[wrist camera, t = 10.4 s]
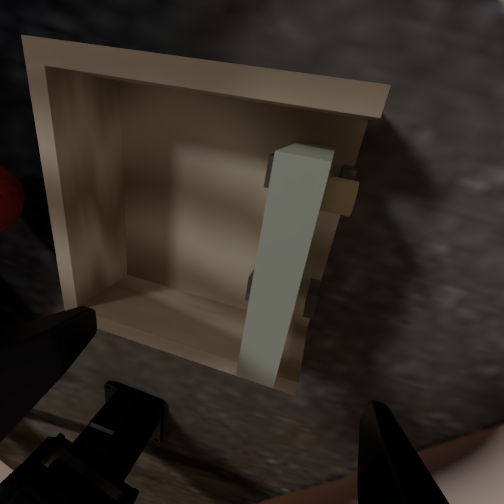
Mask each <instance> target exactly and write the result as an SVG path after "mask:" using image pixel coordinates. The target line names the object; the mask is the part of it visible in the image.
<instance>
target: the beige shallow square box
mask: <svg viewBox="0 0 504 504" xmlns="http://www.w3.org/2000/svg"><path fill="white" fill-rule="evenodd" d="M21 37H22V43H23V50H24V56H25V62H26V69H27V75H28V81H29V88H30V94H31V100H32V106H33V113H34V119H35V125H36V132H37V138H38V144H39V151H40V157H41V163H42V170H43V176H44V182H45V188H46V195H47V201H48V207H49V214H50V220H51V226H52V233H53V239H54V245H55V251H56V258H57V264H58V270H59V277H60V283H61V289H62V296H63V302H64V308H65V311H66V310H69V309H73V308H76V307H79V306H87V307H90V308H93V309H94V310H95V311H96V318H97V328H98V329H101V330H104V331H107V332H109V333H112V334H115V335H118V336H121V337H124V338H127V339H130V340H133V341H136V342H139V343H142V344H145V345H148V346H151V347H153V348H156V349H159V350H162V351H165V352H168V353H171V354H174V355H177V356H180V357H183V358H186V359H189V360H192V361H194V362H197V363H200V364H203V365H206V366H209V367H212V368H215V369H218V370H221V371H224V372H227V373H230V374H233V375H236V371H237V365H238V360H239V354H240V348H241V342H242V337H243V331H244V325H245V320H246V314H247V308H248V302H249V297H250V291H251V285H252V279H253V274H254V268H255V262H256V257H257V251H258V245H259V239H260V234H261V228H262V222H263V216H264V211H265V205H266V199H267V193H268V188H269V182H270V176H271V171H272V165H273V159H274V153H275V151H276V150H278V149H281V148H284V147H287V146H289V145H292V144H295V143H297V142H300V141H303V142H308V143H314V144H320V145H325V146H331V147H335V150H334V154H333V159H332V163H331V167H330V171H329V175H328V176H333V177H338V178H343V179H348V180H353V181H354V179H355V176H356V173H357V171H356V168H355V164H356V161H357V157H358V154H359V150H360V147H361V144H362V140H363V137H364V133H365V130H366V127H367V123H368V121H369V120H374V119H379V118H381V115H382V112H383V109H384V105H385V102H386V99H387V96H388V92H389V89H390V86H391V85H387V84H380V83H372V82H365V81H358V80H350V79H343V78H336V77H328V76H321V75H313V74H306V73H299V72H291V71H284V70H277V69H269V68H262V67H254V66H247V65H240V64H232V63H225V62H218V61H210V60H203V59H195V58H188V57H181V56H173V55H166V54H159V53H151V52H144V51H137V50H129V49H122V48H114V47H107V46H100V45H92V44H85V43H78V42H70V41H63V40H55V39H48V38H41V37H33V36H26V35H21ZM339 218H340V215H339V214H334V213H329V212H325V211H320V210H319V214H318V217H317V221H316V225H315V229H314V233H313V237H312V241H311V244H310V248H309V252H308V256H307V260H306V264H305V268H304V271H303V275H302V279H301V283H300V287H299V291H298V295H297V298H296V302H295V306H294V310H293V314H292V318H291V322H290V325H289V329H288V333H287V337H286V341H285V345H284V349H283V352H282V356H281V360H280V364H279V368H278V372H277V376H276V379H275V383H274V387H273V388H274V389H277V390H279V391H282V392H285V393H288V394H291V395H294V396H295V393H296V390H297V386H298V383H299V377H300V371H301V364H302V358H303V352H304V346H305V339H306V333H307V327H308V324H309V320H310V319H312V320H313V316H314V313H315V310H316V306H317V303H318V300H319V295H320V287H321V280H322V276H323V273H324V269H325V266H326V263H327V259H328V256H329V252H330V249H331V246H332V242H333V239H334V235H335V232H336V229H337V225H338V222H339ZM238 377H239V376H238ZM241 378H242V377H241ZM244 379H245V378H244ZM247 380H248V379H247ZM250 381H251V380H250ZM253 382H254V381H253ZM256 383H257V382H256ZM259 384H260V383H259ZM262 385H263V384H262ZM265 386H266V385H265ZM268 387H269V386H268ZM271 388H272V387H271Z"/></svg>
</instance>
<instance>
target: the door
mask: <svg viewBox="0 0 504 504" xmlns="http://www.w3.org/2000/svg"><path fill="white" fill-rule="evenodd" d="M334 150H335V147H331V146H325V145H320V144H314V143H308V142H303V141H300V142H297V143H295V144H292V145H289V146H287V147H284V148H281V149H278V150H276V151H275V153H274V159H273V165H272V171H271V176H270V182H269V188H268V193H267V199H266V205H265V211H264V216H263V222H262V228H261V234H260V239H259V245H258V251H257V257H256V262H255V268H254V274H253V279H252V285H251V291H250V297H249V302H248V308H247V314H246V320H245V325H244V331H243V337H242V342H241V348H240V354H239V360H238V365H237V371H236V376H239V377H242V378H245V379H248V380H251V381H254V382H257V383H260V384H263V385H266V386H269V387H272V388H273V387H274V383H275V379H276V376H277V372H278V368H279V364H280V360H281V356H282V352H283V349H284V345H285V341H286V337H287V333H288V329H289V325H290V322H291V318H292V314H293V310H294V306H295V302H296V298H297V295H298V291H299V287H300V283H301V279H302V275H303V271H304V268H305V264H306V260H307V256H308V252H309V248H310V244H311V241H312V237H313V233H314V229H315V225H316V221H317V217H318V214H319V210H320V211H325V212H329V213H334V214H339V215H343V216H348V217H349V216H350V215H351V212H352V210H353V207H354V204H355V200H356V197H357V193H358V188H359V181H353V180H348V179H343V178H338V177H333V176H328V175H329V171H330V167H331V163H332V159H333V154H334Z"/></svg>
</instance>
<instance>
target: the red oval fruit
mask: <svg viewBox="0 0 504 504" xmlns="http://www.w3.org/2000/svg"><path fill="white" fill-rule="evenodd" d="M24 200H25V199H24V193H23V186H22V184H21V182H20V181H19V180H18V179H17V178H15V177H14V176H13V175H12V174H11V173H10V172H9V171H8V170H7V169H5V168H4V167H3V166H1V165H0V232H1V231H3V230H5V229H7V228H8V227H9V226H10V225H12V224H13V223H14V222H15V221H16V220H17V219H18V218H19V217H20V216H21V212H22V209H23V204H24Z"/></svg>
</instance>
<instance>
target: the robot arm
mask: <svg viewBox="0 0 504 504" xmlns="http://www.w3.org/2000/svg"><path fill="white" fill-rule="evenodd" d="M96 331H97V318H96V311H95V310H94V309H93V308H90V307H87V306H79V307H76V308H73V309H69V310H66V311H62V312H59V313H55V314H52V315H49V316H45V317H42V318H38V319H35V320H31V321H28V322H25V323H21V324H18V325H14V326H11V327H7V328H4V329H1V330H0V442H1V441H2V440H3V439H4V438H5V437H6V435H7V434H8V433H9V432H10V431H11V430H12V429H13V428H14V427H15V426H16V425H17V424H18V423H19V422H20V421H21V420H22V418H23V417H24V416H25V415H26V414H27V413H28V412H29V411H30V410H31V409H32V408H33V407H34V406H35V405H36V404H37V402H38V401H39V400H40V399H41V398H42V397H43V396H44V395H45V394H46V393H47V392H48V391H49V390H50V389H51V388H52V387H53V385H54V384H55V383H56V382H57V381H58V380H59V379H60V378H61V377H62V376H63V375H64V373H65V372H66V371H67V370H68V369H69V367H70V366H71V365H72V364H73V362H74V361H75V360H76V358H77V357H78V356H79V355H80V353H81V352H82V351H83V349H84V348H85V347H86V346H87V344H88V343H89V342H90V341H91V339H92V338H93V337H94V335H95V334H96ZM104 388H105V398H106V403H105V404H104V406H103V407H102V408H101V409H100V410H99V412H98V413H97V414H96V415H95V416H94V417H93V419H92V420H91V421H90V423H89V424H88V425H87V426H86V428H85V429H84V430H83V431H82V432H81V434H80V435H79V436H78V437H77V438H76V439H75V441H74V442H73V443H71V442H70V441H69V440H67V439H66V438H65V436H64V435H63V434H62V433H59V434H58V435H57V436H56V437H50V436H48V437H47V439H46V440H45V441H44V442H43V443H42V444H41V445H40V446H39V447H38V448H37V449H36V450H35V451H34V452H33V453H32V454H31V455H30V456H29V457H28V458H27V459H26V460H25V461H24V462H23V463H22V464H21V465H20V466H18V467H17V468H16V469H15V470H14V471H13V472H12V473H11V474H10V475H9V476H8V477H7V478H6V479H4V480H3V481H2V482H1V483H0V504H134V502H135V500H136V498H137V496H138V494H139V491H138V490H137V489H136V488H132V487H131V486H129V485H128V484H127V483H125V482H124V480H125V479H126V477H127V476H128V474H129V472H130V471H131V469H132V467H133V466H134V464H135V462H136V461H137V459H138V457H139V456H140V454H141V452H142V451H143V449H144V448H145V446H146V444H147V443H148V441H149V440H150V441H153V442H155V443H160V442H161V440H162V430H163V402H162V401H161V400H160V399H157V398H155V397H152V396H149V395H147V394H144V393H141V392H139V391H136V390H133V389H131V388H128V387H125V386H123V385H120V384H117V383H115V382H112V381H107V382H106V384H105V385H104ZM46 463H47V464H49V467H47V466H45V464H46ZM357 487H358V504H449V502H448V501H447V499H446V498H445V496H444V495H443V493H442V491H441V490H440V488H439V487H438V485H437V484H436V482H435V480H434V479H433V477H432V476H431V474H430V473H429V471H428V469H427V468H426V466H425V465H424V463H423V461H422V460H421V458H420V457H419V455H418V454H417V452H416V450H415V449H414V447H413V446H412V444H411V443H410V441H409V439H408V438H407V436H406V435H405V433H404V432H403V430H402V428H401V427H400V425H399V424H398V422H397V421H396V419H395V417H394V416H393V414H392V413H391V411H390V410H389V408H388V407H387V406H386V405H385V404H384V403H381V402H378V401H375V400H370V401H369V403H368V405H367V407H366V409H365V411H364V413H363V415H362V417H361V420H360V426H359V451H358V480H357Z"/></svg>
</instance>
